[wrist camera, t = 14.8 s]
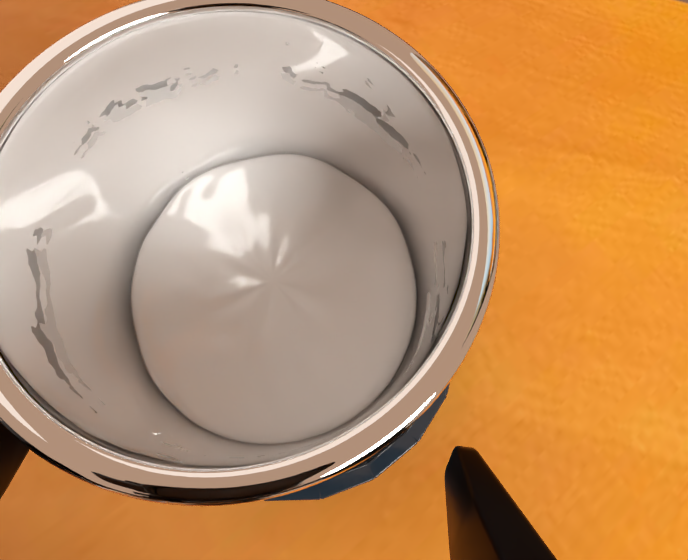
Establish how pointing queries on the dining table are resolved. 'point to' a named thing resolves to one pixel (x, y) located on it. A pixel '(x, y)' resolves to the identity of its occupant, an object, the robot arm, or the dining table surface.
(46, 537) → the dining table surface
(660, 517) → the dining table surface
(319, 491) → the saucepan
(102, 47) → the chrome pilsner tumbler
